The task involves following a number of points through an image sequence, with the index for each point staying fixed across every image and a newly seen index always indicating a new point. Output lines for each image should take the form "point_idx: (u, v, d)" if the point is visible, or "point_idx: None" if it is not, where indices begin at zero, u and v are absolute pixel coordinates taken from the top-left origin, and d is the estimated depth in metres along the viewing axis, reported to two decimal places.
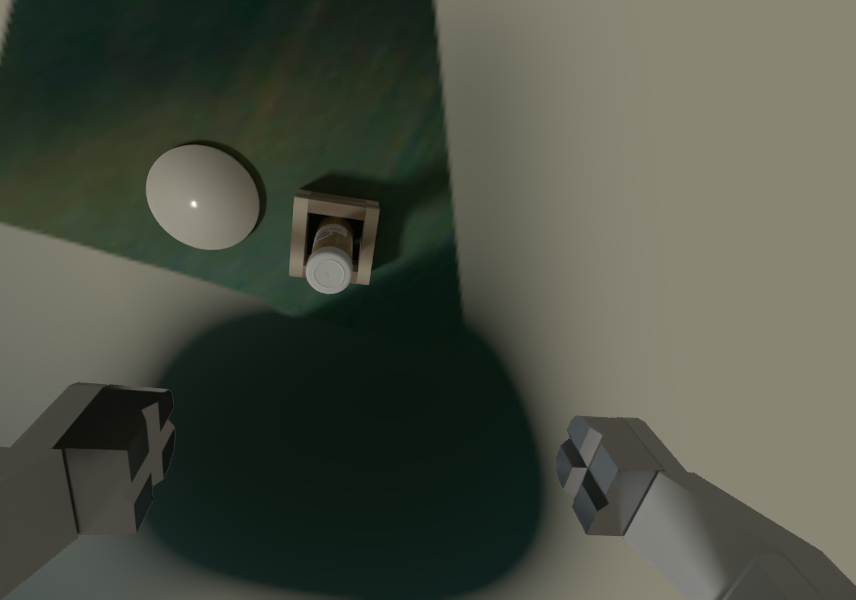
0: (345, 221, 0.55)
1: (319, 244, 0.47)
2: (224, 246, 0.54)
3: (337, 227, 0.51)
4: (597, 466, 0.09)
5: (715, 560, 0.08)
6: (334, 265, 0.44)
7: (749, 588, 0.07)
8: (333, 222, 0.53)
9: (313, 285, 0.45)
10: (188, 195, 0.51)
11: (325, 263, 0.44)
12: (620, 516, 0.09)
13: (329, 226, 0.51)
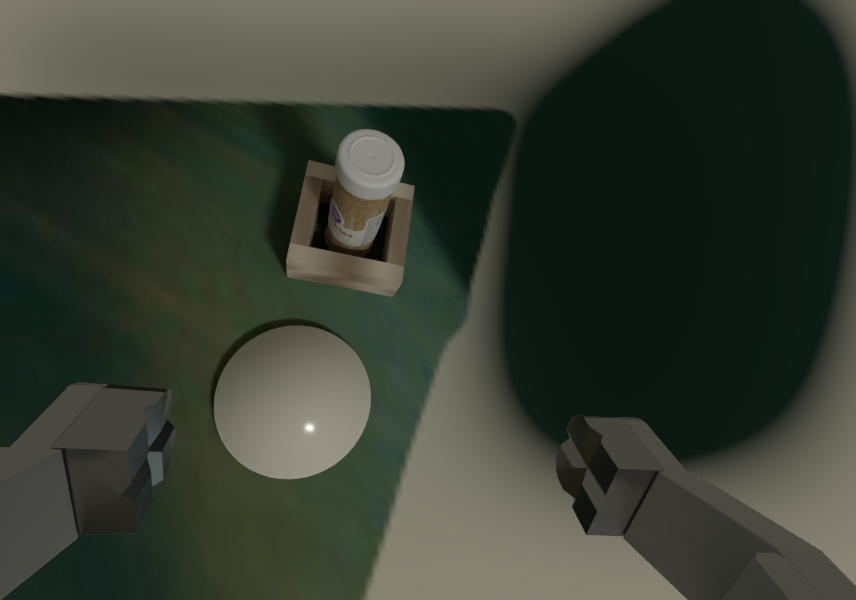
0: None
1: (339, 197, 0.32)
2: (366, 380, 0.38)
3: None
4: (597, 466, 0.09)
5: (715, 560, 0.08)
6: (358, 146, 0.30)
7: (749, 588, 0.07)
8: (328, 225, 0.39)
9: (390, 179, 0.30)
10: (288, 418, 0.35)
11: (355, 157, 0.29)
12: (620, 516, 0.09)
13: (329, 218, 0.37)
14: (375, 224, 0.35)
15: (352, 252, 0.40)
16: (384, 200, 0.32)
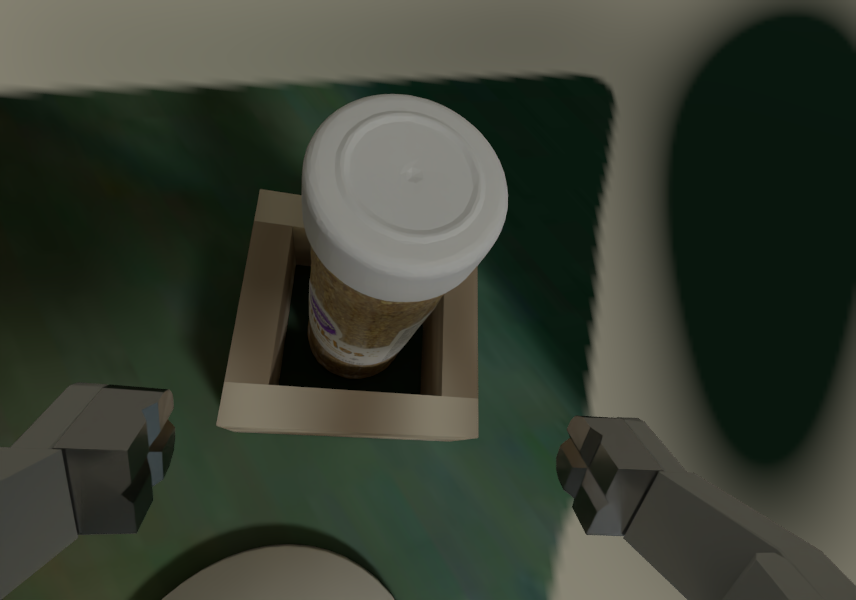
0: None
1: (325, 287, 0.12)
2: None
3: None
4: (597, 466, 0.09)
5: (715, 560, 0.08)
6: (367, 147, 0.09)
7: (749, 588, 0.07)
8: None
9: (476, 242, 0.09)
10: None
11: (359, 182, 0.09)
12: (620, 516, 0.09)
13: (309, 314, 0.17)
14: (416, 329, 0.15)
15: (365, 369, 0.19)
16: None
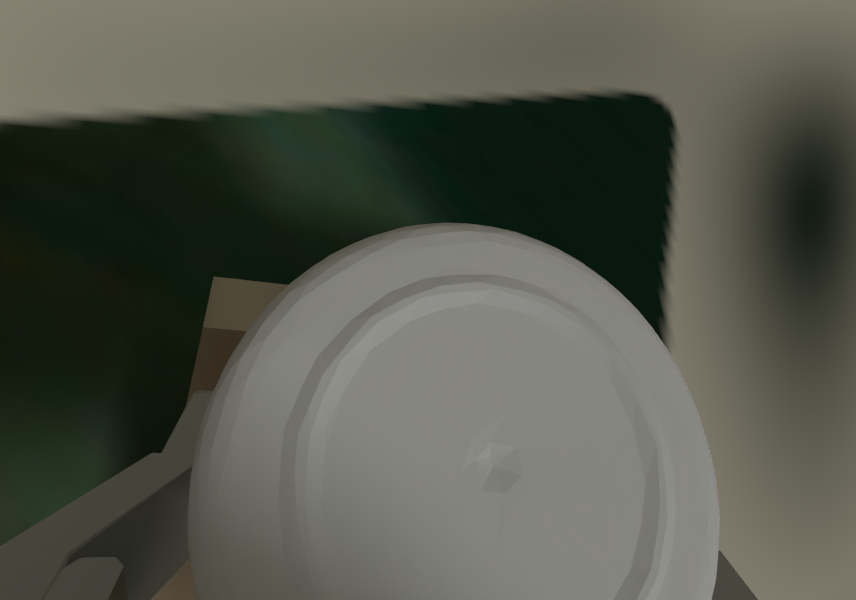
0: None
1: None
2: None
3: None
4: None
5: None
6: (373, 399, 0.03)
7: None
8: None
9: None
10: None
11: (351, 525, 0.03)
12: None
13: None
14: None
15: None
16: None
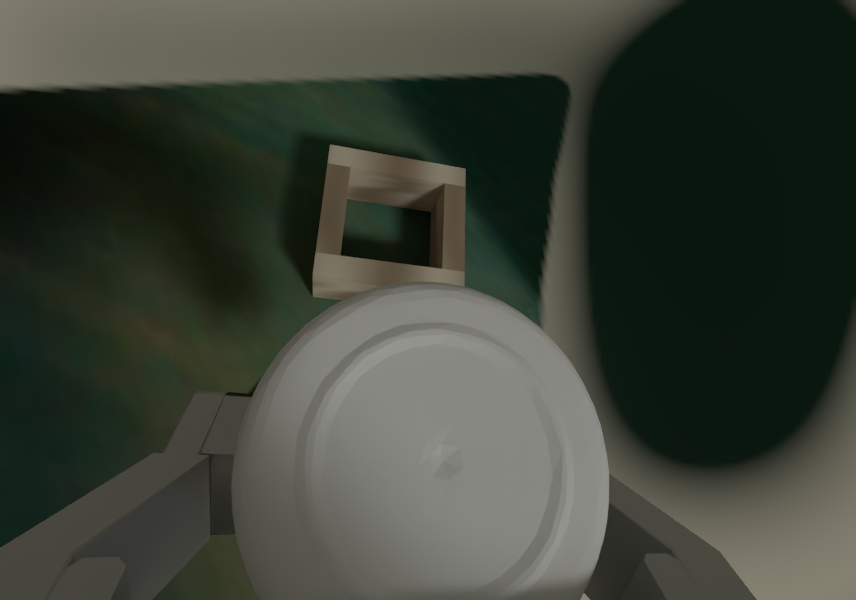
0: None
1: None
2: None
3: None
4: None
5: (616, 561, 0.07)
6: (360, 412, 0.05)
7: (637, 591, 0.06)
8: None
9: None
10: None
11: (341, 497, 0.05)
12: None
13: None
14: None
15: None
16: None
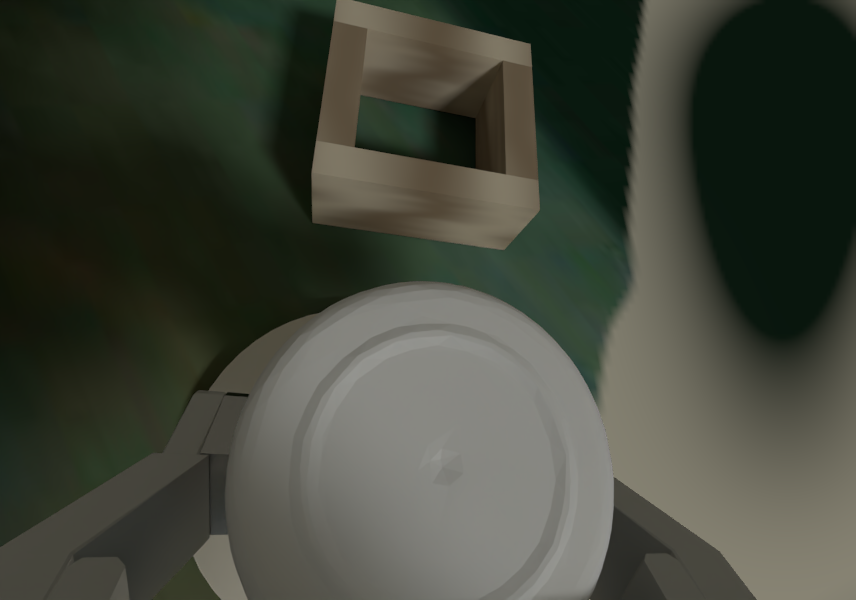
0: None
1: None
2: None
3: None
4: None
5: (616, 561, 0.07)
6: (357, 416, 0.05)
7: (637, 591, 0.06)
8: None
9: None
10: None
11: (338, 504, 0.05)
12: None
13: None
14: None
15: None
16: None
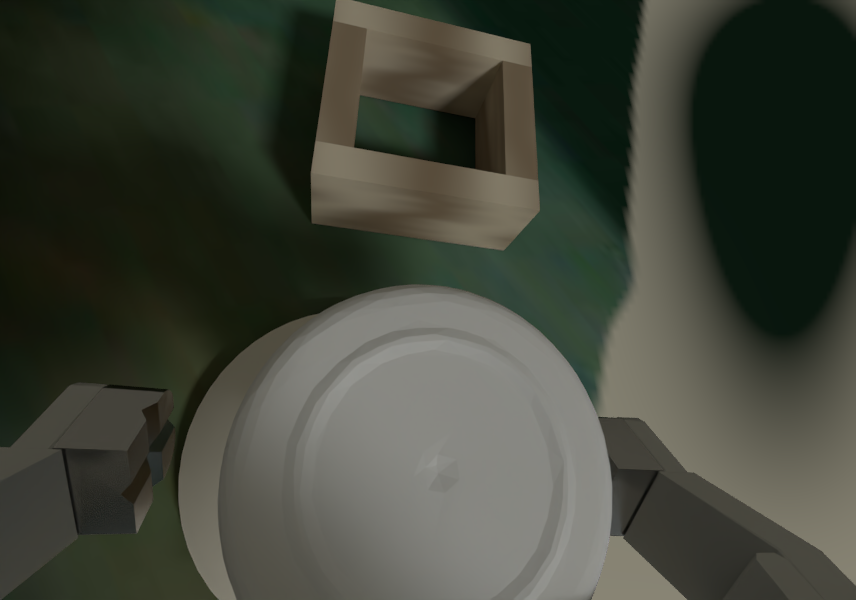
0: None
1: None
2: None
3: None
4: None
5: (715, 560, 0.08)
6: (352, 422, 0.05)
7: (749, 588, 0.07)
8: None
9: None
10: None
11: (332, 511, 0.04)
12: (620, 516, 0.09)
13: None
14: None
15: None
16: None
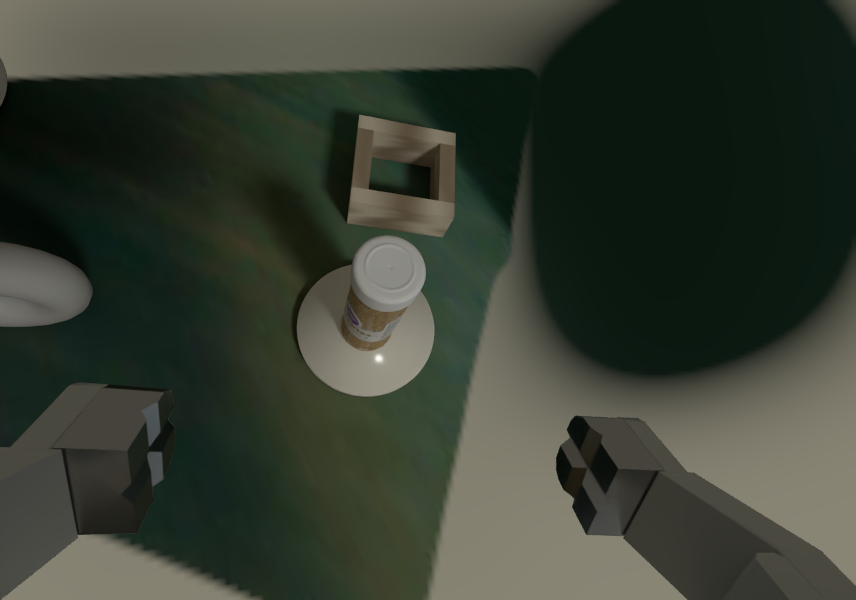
0: None
1: (356, 304, 0.30)
2: (427, 308, 0.41)
3: (345, 304, 0.35)
4: (597, 466, 0.09)
5: (715, 560, 0.08)
6: (374, 258, 0.27)
7: (749, 588, 0.07)
8: None
9: (411, 292, 0.27)
10: None
11: (371, 271, 0.27)
12: (620, 516, 0.09)
13: (344, 315, 0.35)
14: (395, 323, 0.33)
15: (371, 345, 0.37)
16: (405, 306, 0.29)
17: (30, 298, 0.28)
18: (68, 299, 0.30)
